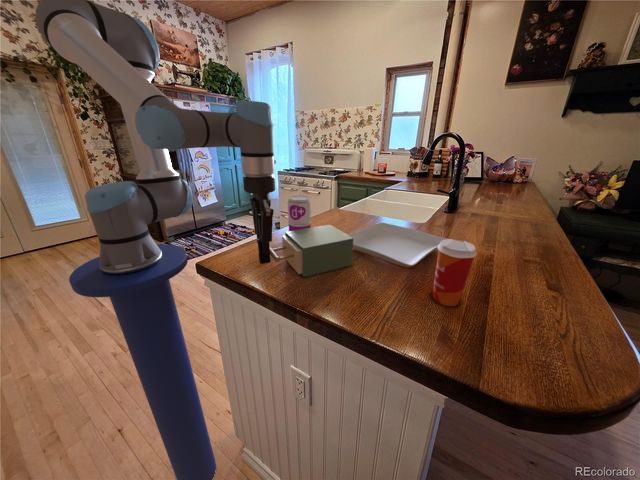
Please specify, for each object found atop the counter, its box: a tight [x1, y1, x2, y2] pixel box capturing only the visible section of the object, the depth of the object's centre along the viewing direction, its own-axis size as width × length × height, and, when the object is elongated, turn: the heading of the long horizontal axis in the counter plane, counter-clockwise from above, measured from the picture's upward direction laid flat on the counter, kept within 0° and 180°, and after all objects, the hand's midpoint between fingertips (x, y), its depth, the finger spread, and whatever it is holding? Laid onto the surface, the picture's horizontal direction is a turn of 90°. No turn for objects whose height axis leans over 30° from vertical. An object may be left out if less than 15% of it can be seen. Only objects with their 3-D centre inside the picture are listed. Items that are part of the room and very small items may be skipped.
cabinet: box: [284, 224, 354, 278], centre depth 76 cm, size 16×14×9 cm
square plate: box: [347, 221, 447, 269], centre depth 86 cm, size 27×27×4 cm
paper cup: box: [432, 238, 478, 307], centre depth 58 cm, size 8×8×14 cm
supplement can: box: [287, 195, 312, 231], centre depth 94 cm, size 8×8×15 cm
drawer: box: [270, 234, 303, 275], centre depth 75 cm, size 20×12×7 cm, turn 117°
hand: (264, 262), depth 70 cm, fingers closed
